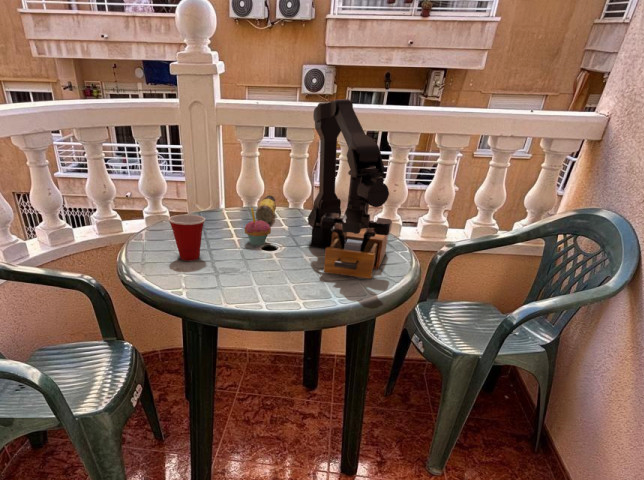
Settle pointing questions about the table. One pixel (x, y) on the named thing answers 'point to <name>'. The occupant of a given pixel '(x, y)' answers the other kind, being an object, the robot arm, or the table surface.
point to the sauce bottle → (266, 209)
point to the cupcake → (257, 231)
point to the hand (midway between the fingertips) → (352, 254)
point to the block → (353, 245)
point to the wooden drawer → (350, 259)
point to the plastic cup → (187, 235)
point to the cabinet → (377, 238)
